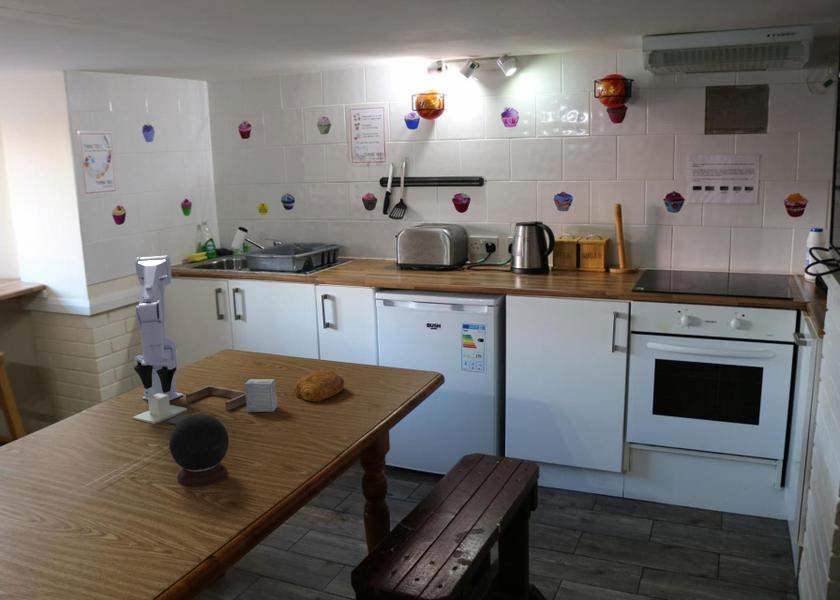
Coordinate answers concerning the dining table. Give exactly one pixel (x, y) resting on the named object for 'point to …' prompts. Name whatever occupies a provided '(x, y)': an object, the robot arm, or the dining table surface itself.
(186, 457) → the black smart speaker
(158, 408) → the cream block
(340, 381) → the croissant
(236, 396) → the brown u-shaped bracket
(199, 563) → the dining table surface
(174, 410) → the pad
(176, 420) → the trap tile
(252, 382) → the medicine box
